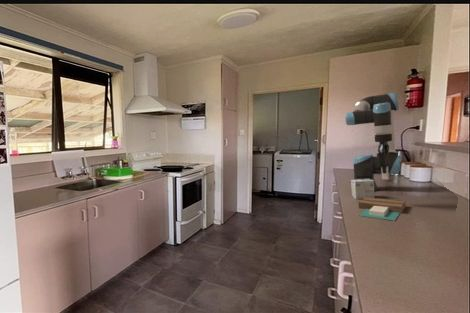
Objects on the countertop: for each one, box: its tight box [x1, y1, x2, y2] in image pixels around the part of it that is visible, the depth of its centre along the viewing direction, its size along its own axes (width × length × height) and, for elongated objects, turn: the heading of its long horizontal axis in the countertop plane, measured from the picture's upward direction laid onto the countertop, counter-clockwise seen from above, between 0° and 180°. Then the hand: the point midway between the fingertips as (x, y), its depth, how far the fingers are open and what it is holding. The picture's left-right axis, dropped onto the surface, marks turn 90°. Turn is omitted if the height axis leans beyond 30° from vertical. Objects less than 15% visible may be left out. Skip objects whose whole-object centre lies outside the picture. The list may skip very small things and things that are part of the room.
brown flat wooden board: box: [358, 197, 407, 214], centre depth 117 cm, size 12×18×3 cm, turn 46°
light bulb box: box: [350, 179, 376, 200], centre depth 138 cm, size 11×7×11 cm, turn 84°
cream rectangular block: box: [369, 206, 389, 217], centre depth 109 cm, size 9×6×2 cm, turn 136°
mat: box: [358, 209, 401, 222], centre depth 108 cm, size 12×14×1 cm
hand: (385, 178), depth 121 cm, fingers closed
